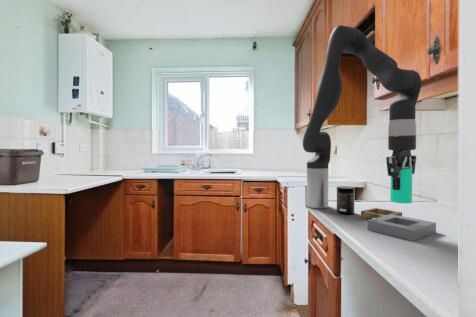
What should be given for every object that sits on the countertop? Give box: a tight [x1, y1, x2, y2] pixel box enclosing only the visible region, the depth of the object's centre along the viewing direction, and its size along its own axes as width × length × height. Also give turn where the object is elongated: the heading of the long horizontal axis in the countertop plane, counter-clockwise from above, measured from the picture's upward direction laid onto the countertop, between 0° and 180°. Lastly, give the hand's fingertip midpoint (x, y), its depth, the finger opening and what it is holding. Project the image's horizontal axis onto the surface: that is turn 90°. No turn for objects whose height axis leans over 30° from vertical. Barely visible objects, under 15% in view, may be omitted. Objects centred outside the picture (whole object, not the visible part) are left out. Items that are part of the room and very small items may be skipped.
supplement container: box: [336, 185, 356, 216], centre depth 115 cm, size 7×7×10 cm
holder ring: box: [360, 207, 403, 220], centre depth 106 cm, size 10×10×2 cm
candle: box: [389, 168, 413, 204], centre depth 90 cm, size 6×6×12 cm
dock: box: [367, 214, 437, 242], centre depth 91 cm, size 14×14×4 cm
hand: (401, 188), depth 90 cm, fingers closed on candle, 5 cm apart
